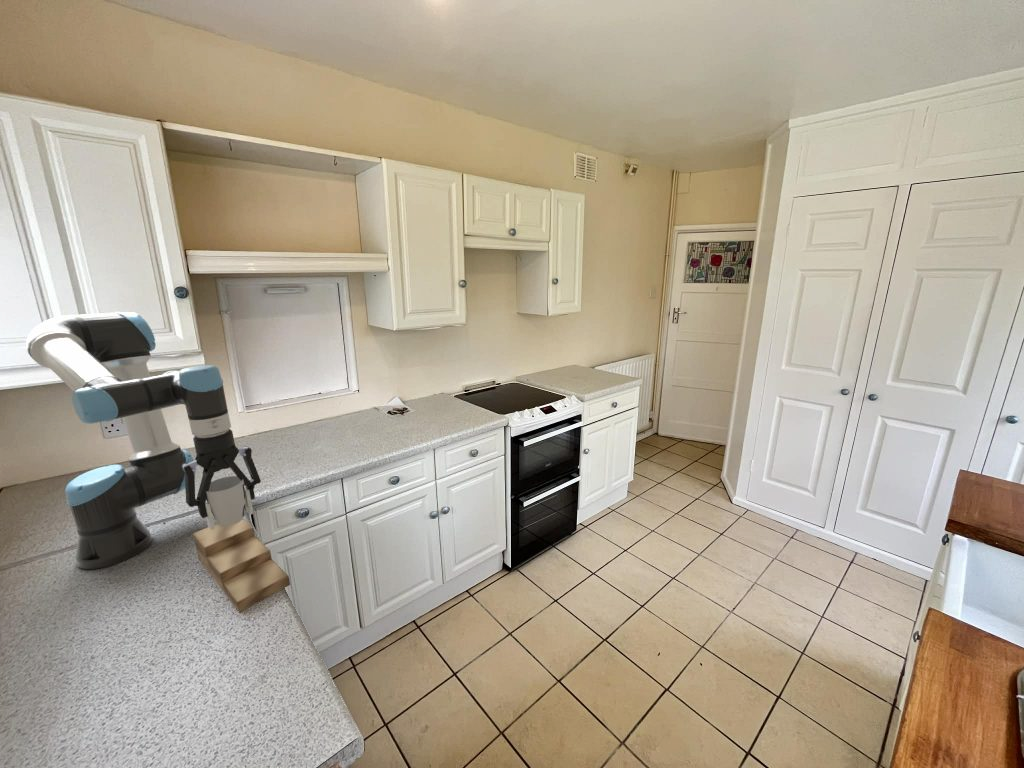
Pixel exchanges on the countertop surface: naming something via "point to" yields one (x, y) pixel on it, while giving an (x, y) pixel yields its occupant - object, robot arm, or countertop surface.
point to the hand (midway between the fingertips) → (231, 519)
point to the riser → (240, 563)
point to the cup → (227, 500)
